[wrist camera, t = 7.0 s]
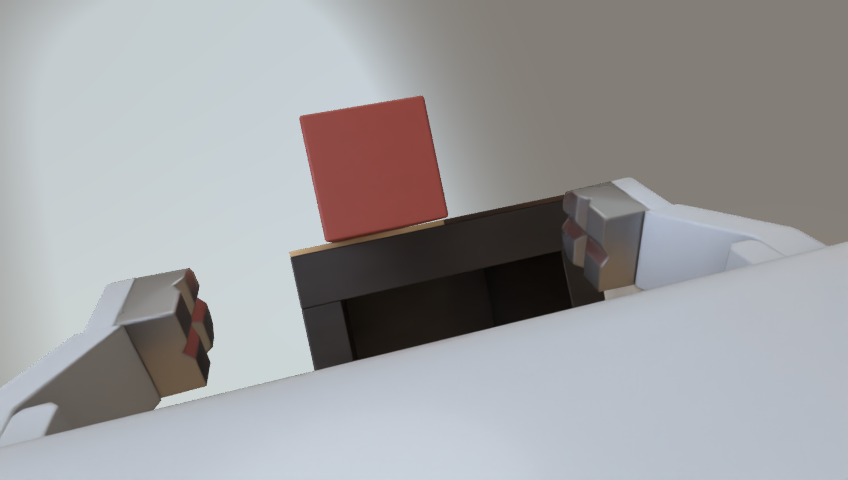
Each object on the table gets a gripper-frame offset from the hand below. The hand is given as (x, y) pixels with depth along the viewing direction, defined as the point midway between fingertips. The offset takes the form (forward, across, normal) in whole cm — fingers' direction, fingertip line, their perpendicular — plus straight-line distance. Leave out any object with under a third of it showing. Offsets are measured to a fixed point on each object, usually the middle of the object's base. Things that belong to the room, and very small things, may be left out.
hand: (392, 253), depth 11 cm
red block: (+10, 0, +5) cm, 11 cm away
